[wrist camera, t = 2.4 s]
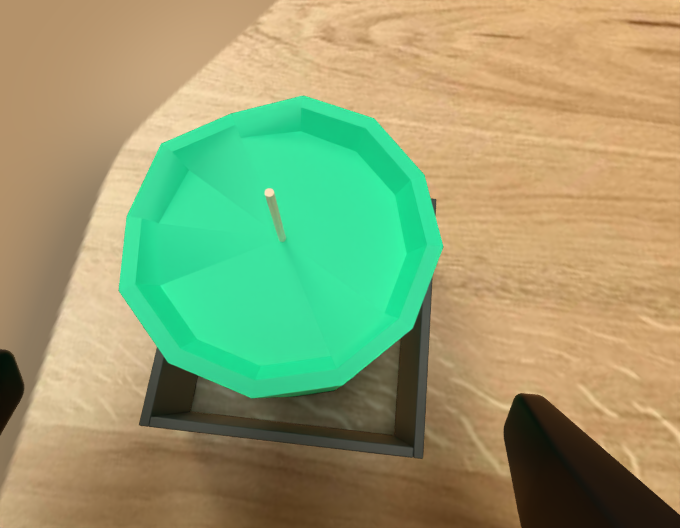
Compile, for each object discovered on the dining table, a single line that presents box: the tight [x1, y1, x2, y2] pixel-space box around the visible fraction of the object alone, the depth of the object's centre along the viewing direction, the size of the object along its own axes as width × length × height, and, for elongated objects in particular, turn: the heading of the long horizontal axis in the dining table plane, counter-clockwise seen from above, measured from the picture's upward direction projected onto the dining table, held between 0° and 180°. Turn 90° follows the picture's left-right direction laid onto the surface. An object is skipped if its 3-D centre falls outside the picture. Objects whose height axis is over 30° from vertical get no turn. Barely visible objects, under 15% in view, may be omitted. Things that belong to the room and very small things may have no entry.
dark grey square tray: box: [139, 199, 436, 459], centre depth 16 cm, size 9×9×4 cm
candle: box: [119, 96, 443, 398], centre depth 12 cm, size 6×6×12 cm
